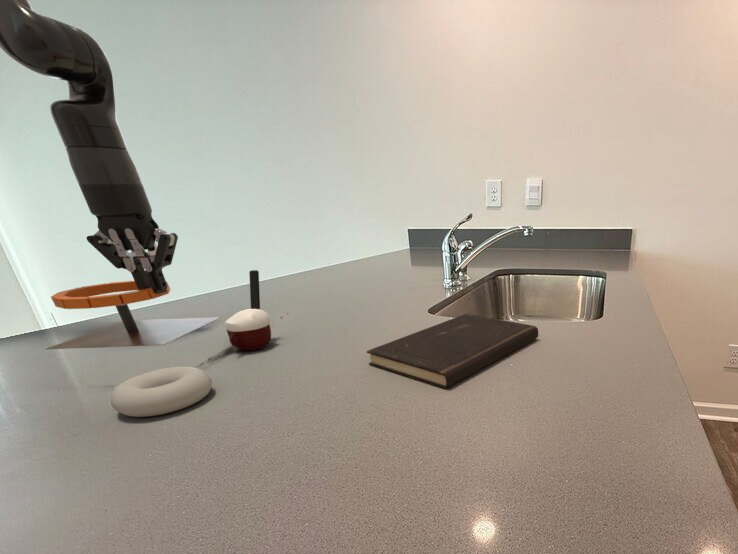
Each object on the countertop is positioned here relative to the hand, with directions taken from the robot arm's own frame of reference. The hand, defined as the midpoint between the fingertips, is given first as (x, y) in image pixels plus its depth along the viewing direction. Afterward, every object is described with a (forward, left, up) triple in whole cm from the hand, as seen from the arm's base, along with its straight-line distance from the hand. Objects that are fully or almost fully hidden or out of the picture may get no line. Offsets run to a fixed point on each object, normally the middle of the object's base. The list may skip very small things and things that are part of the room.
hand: (154, 292), depth 71 cm
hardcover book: (+53, -12, -9) cm, 56 cm away
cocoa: (+18, -6, -9) cm, 21 cm away
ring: (-7, 0, -1) cm, 7 cm away
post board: (-5, 0, -9) cm, 10 cm away
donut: (+17, -26, -9) cm, 33 cm away
